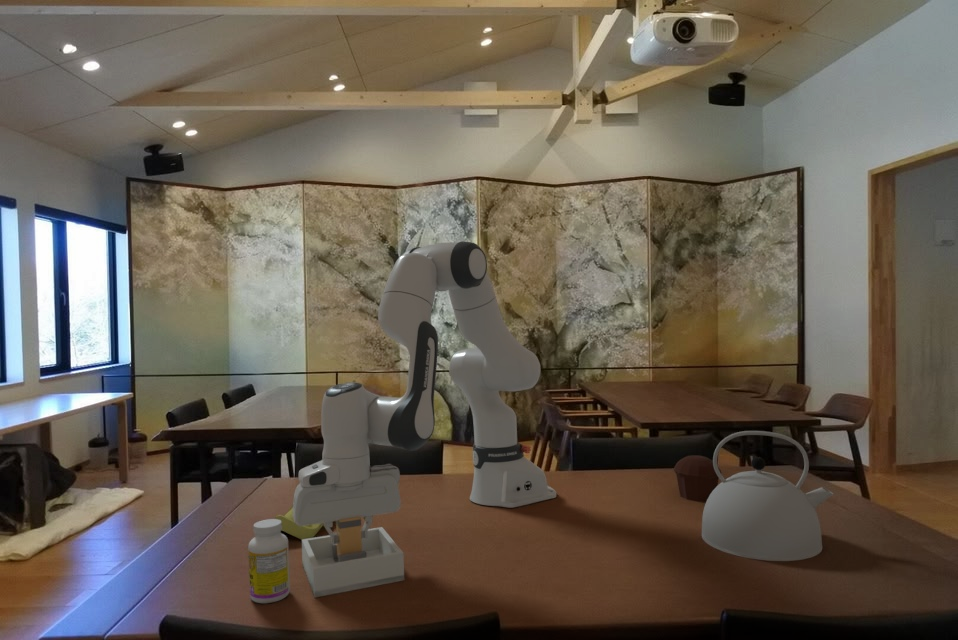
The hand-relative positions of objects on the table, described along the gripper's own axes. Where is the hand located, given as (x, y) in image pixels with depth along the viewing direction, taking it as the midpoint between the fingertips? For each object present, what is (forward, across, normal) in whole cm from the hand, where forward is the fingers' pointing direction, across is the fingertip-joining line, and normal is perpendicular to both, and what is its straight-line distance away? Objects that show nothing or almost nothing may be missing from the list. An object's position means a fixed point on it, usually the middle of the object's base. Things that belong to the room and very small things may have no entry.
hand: (348, 541), depth 124 cm
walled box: (+5, 0, +2) cm, 6 cm away
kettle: (+6, -81, +24) cm, 84 cm away
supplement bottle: (+6, +15, +6) cm, 17 cm away
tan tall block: (+3, 0, 0) cm, 3 cm away
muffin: (+6, -90, -7) cm, 90 cm away
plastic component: (+6, +4, -29) cm, 30 cm away
